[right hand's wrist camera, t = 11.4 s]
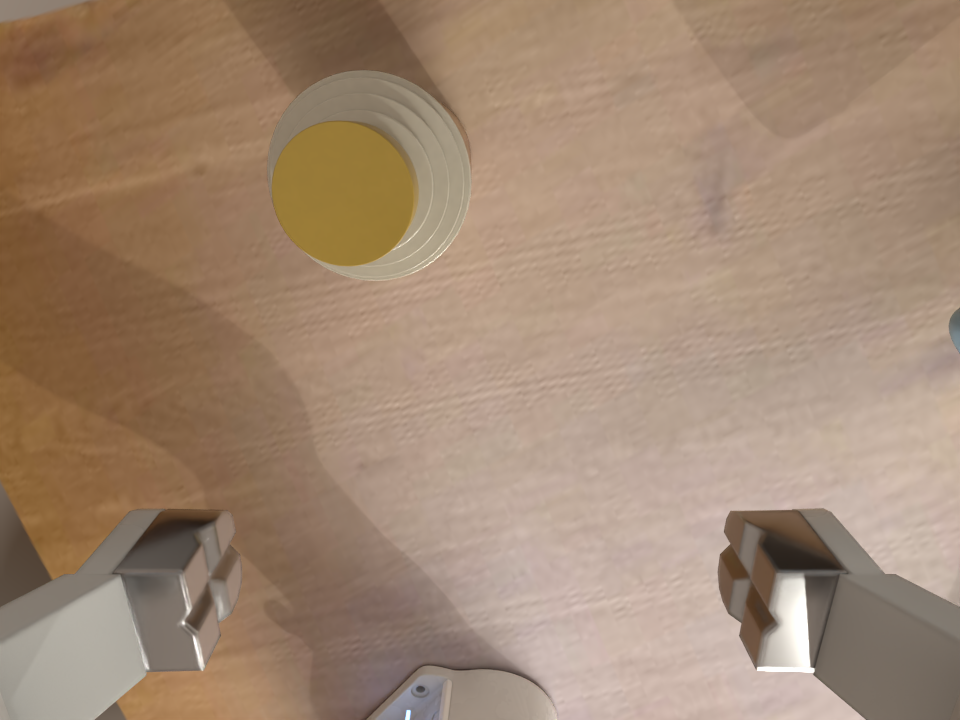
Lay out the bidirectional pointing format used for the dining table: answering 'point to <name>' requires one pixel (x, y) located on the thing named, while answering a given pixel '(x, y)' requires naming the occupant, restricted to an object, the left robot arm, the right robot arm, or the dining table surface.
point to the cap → (345, 192)
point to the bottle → (423, 136)
